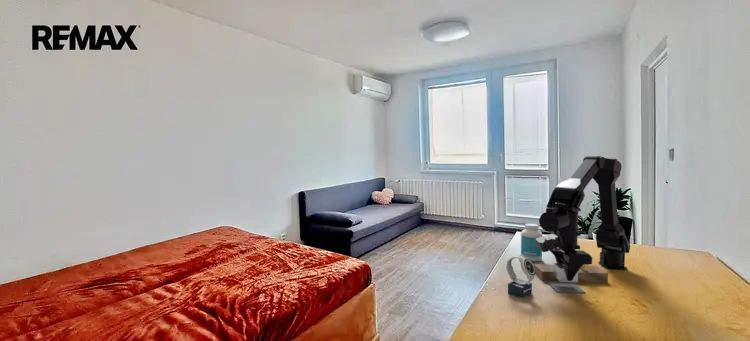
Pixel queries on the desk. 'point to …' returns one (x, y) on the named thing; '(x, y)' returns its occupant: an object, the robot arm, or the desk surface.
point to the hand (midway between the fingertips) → (565, 277)
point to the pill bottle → (531, 243)
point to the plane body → (583, 276)
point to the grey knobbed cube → (562, 273)
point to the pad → (565, 287)
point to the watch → (518, 285)
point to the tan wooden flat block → (585, 267)
